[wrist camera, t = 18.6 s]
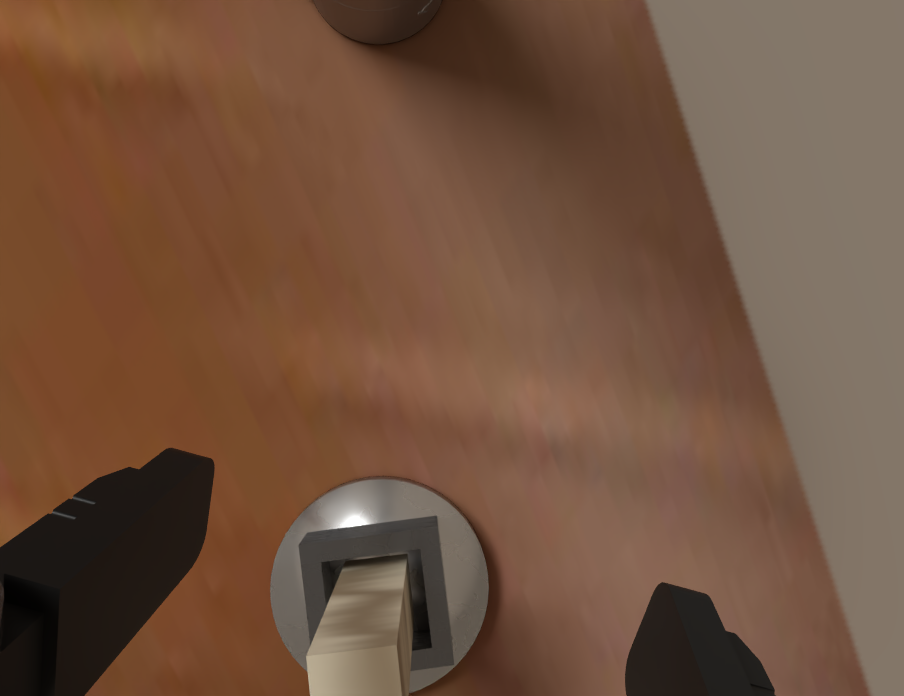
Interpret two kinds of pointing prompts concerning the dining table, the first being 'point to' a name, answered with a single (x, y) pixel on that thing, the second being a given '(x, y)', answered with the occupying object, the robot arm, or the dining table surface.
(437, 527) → the rosette plate
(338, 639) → the beige rectangular block
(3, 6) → the dining table surface
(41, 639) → the robot arm
